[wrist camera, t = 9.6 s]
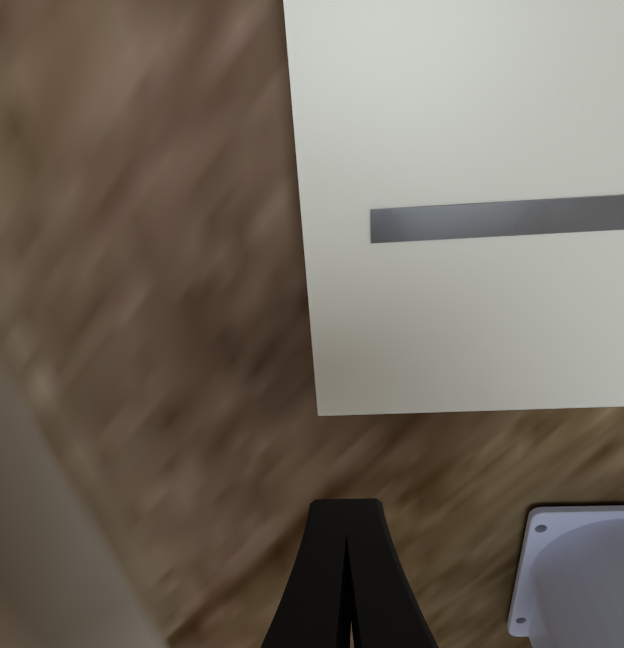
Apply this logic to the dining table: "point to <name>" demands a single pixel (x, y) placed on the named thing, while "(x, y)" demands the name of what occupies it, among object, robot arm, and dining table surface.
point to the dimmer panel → (461, 201)
